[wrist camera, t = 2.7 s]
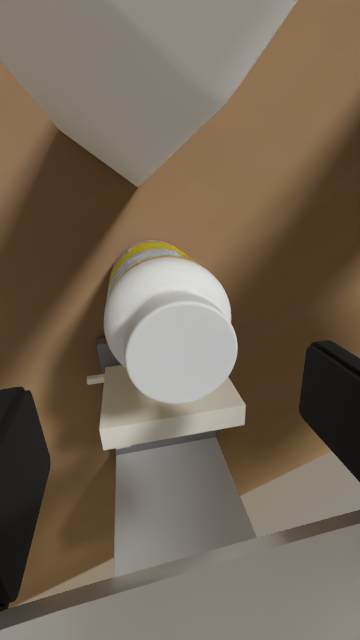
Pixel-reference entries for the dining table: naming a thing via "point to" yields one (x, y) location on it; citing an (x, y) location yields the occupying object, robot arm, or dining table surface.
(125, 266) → the supplement bottle
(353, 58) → the dining table surface
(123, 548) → the grey l-shaped piece
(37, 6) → the milk
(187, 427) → the cream flat slab
